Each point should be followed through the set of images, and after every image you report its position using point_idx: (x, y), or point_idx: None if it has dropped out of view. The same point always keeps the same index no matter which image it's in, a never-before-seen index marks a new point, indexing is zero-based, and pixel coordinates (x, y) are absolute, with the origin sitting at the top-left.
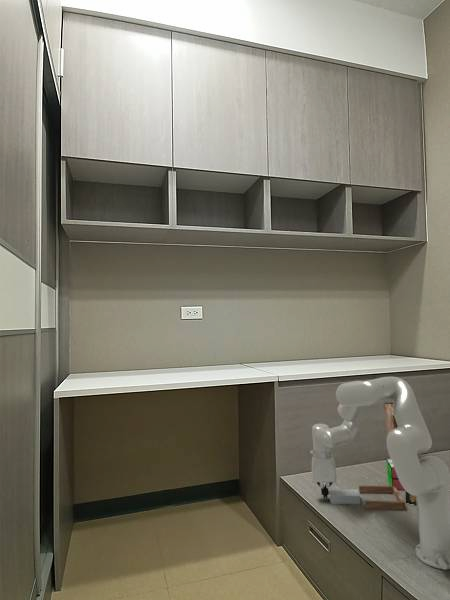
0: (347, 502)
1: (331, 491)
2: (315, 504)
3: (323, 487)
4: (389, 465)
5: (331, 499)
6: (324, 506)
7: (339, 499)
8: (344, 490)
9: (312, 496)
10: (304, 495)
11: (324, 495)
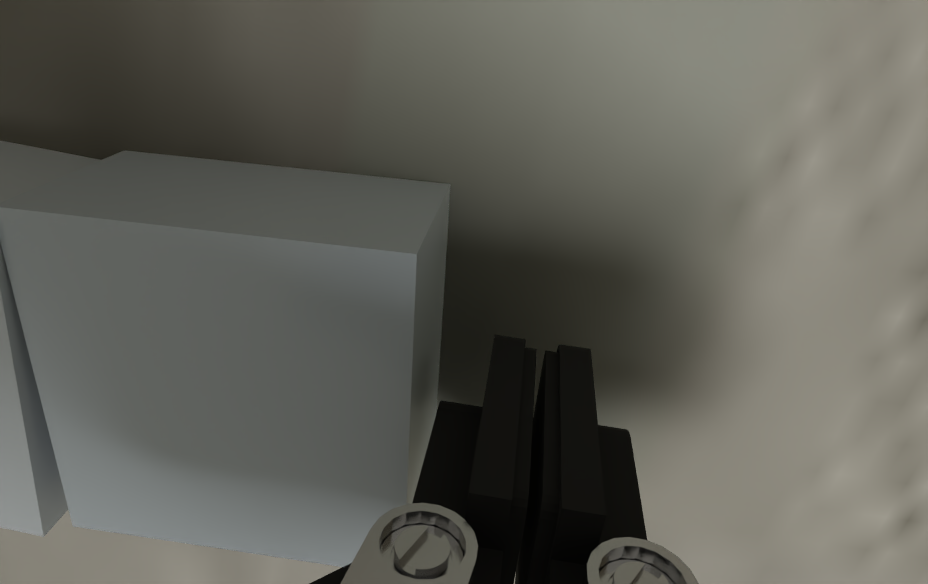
0: (65, 164)
1: (342, 492)
2: (845, 198)
3: (573, 577)
4: None
5: (414, 214)
6: (649, 72)
7: (202, 192)
8: (18, 478)
9: (761, 523)
10: (913, 579)
11: (570, 373)
